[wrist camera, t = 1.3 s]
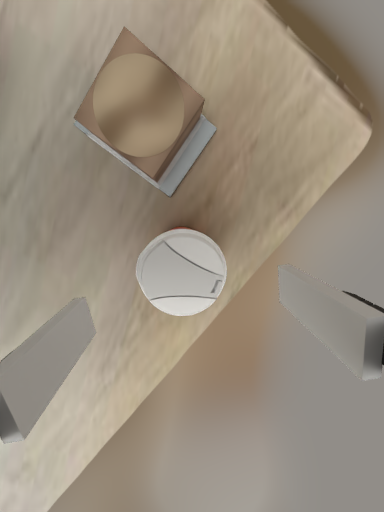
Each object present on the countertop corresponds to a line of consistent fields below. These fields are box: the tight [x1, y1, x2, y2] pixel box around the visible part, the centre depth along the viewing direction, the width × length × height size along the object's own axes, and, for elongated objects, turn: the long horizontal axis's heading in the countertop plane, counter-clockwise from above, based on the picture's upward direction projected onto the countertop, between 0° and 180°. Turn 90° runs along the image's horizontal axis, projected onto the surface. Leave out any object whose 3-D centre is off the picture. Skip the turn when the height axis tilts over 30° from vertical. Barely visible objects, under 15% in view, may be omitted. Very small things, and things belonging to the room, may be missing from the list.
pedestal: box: [74, 27, 205, 183], centre depth 24 cm, size 10×10×5 cm
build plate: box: [74, 114, 217, 197], centre depth 27 cm, size 15×11×1 cm
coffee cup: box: [136, 227, 227, 316], centre depth 24 cm, size 8×8×15 cm
